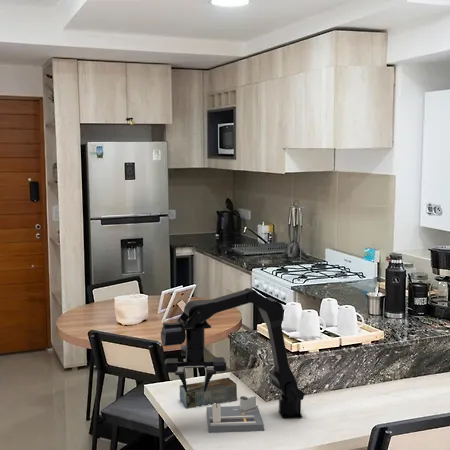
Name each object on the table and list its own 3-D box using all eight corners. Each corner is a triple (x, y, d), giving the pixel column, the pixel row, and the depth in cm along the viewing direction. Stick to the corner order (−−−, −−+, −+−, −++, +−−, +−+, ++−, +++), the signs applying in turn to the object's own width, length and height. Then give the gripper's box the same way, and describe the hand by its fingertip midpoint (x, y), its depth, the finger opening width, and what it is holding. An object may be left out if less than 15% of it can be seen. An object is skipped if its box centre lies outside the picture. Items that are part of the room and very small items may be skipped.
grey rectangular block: (251, 405, 207) (251, 393, 207) (256, 407, 206) (256, 395, 205) (240, 409, 204) (240, 396, 204) (244, 411, 203) (244, 399, 202)
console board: (257, 410, 209) (257, 403, 208) (263, 430, 194) (263, 422, 193) (206, 412, 207) (206, 405, 207) (209, 432, 192) (209, 424, 192)
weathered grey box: (178, 401, 218) (178, 382, 217) (229, 393, 225) (229, 375, 224) (186, 409, 210) (185, 390, 210) (238, 401, 218) (238, 382, 217)
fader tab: (220, 418, 197) (219, 403, 196) (220, 422, 194) (220, 407, 193) (212, 418, 197) (212, 403, 196) (213, 422, 194) (212, 407, 193)
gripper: (223, 334, 201) (223, 381, 202) (165, 335, 199) (165, 383, 201) (226, 344, 190) (226, 394, 191) (164, 346, 188) (165, 396, 190)
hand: (195, 391), depth 194 cm, fingers open, 5 cm apart
